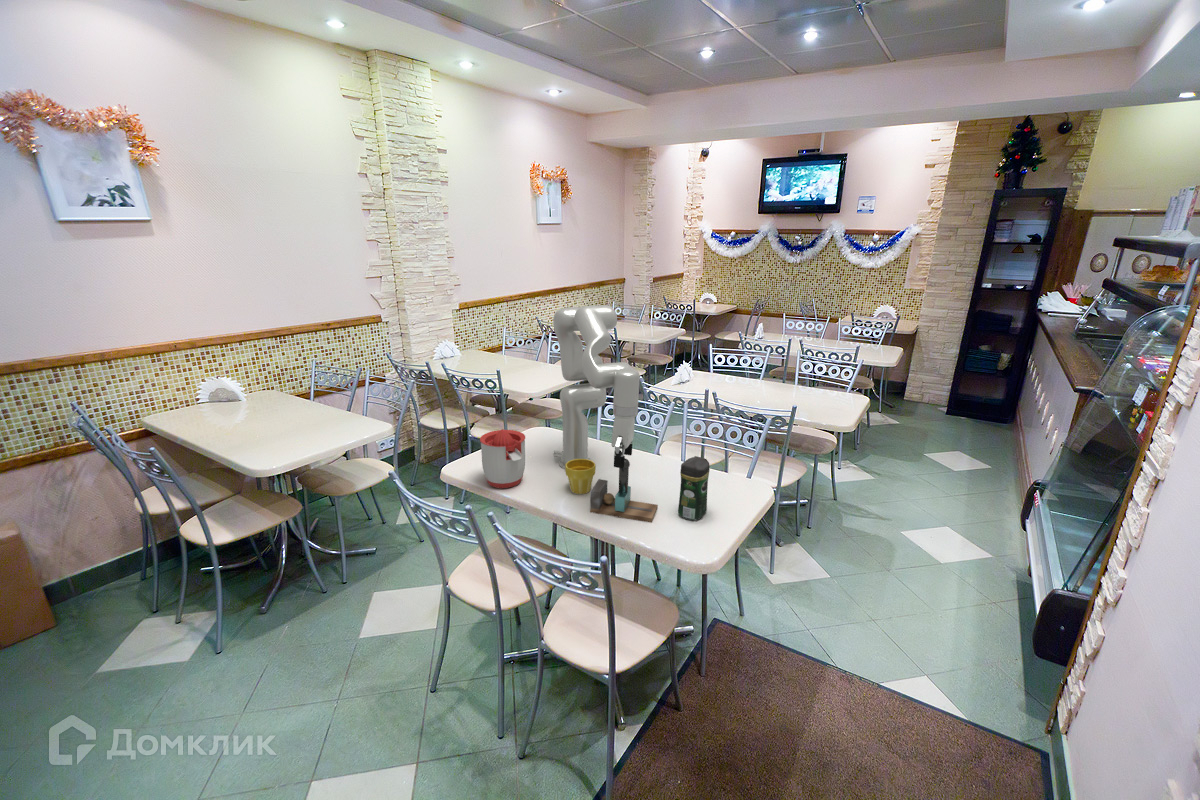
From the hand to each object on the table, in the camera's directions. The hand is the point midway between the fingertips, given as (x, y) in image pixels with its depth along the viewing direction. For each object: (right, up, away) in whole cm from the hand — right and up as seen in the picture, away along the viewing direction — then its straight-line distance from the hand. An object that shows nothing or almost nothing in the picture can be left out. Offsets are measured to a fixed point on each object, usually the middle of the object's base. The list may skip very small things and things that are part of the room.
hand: (622, 460), depth 161 cm
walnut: (-4, -15, +5) cm, 16 cm away
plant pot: (-14, -12, +18) cm, 26 cm away
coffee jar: (+22, -17, +3) cm, 28 cm away
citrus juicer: (-41, -11, +22) cm, 48 cm away
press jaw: (0, -15, +4) cm, 15 cm away
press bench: (+1, -16, +4) cm, 17 cm away
